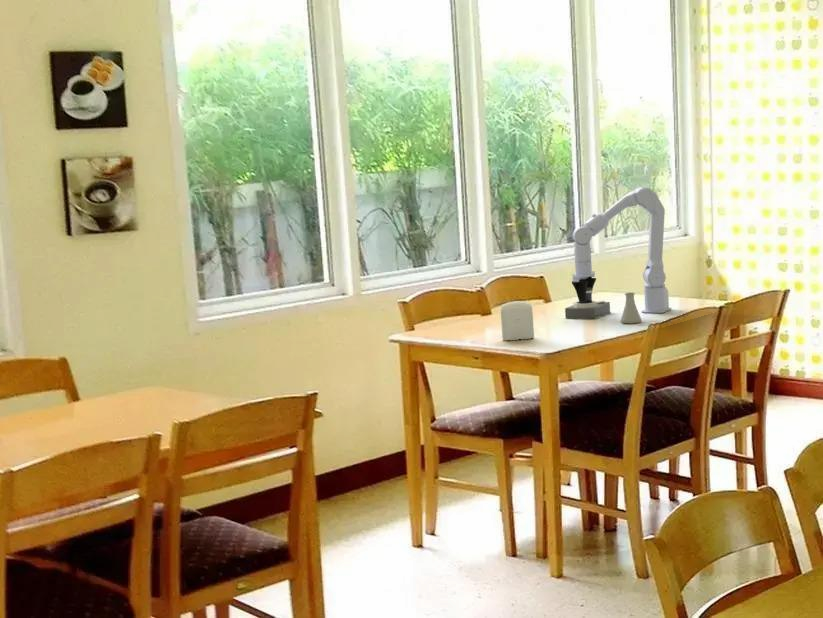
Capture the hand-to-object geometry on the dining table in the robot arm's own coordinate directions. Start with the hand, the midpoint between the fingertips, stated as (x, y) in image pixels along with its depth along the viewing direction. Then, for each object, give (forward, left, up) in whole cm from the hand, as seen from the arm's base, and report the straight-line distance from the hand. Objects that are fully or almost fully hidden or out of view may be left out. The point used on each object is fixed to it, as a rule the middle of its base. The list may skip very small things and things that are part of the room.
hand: (584, 299), depth 430 cm
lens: (0, 0, -2) cm, 2 cm away
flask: (+10, +21, -6) cm, 24 cm away
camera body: (-2, 0, -6) cm, 6 cm away
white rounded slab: (+47, -3, -6) cm, 47 cm away
